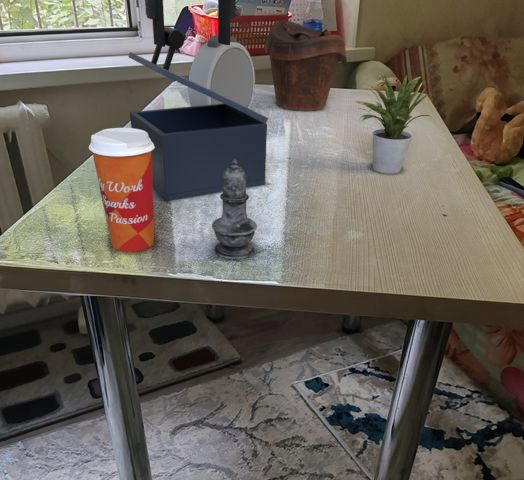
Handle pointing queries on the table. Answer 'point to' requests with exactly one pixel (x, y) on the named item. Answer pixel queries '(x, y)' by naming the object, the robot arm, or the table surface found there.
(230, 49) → the alarm clock
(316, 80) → the brown bucket
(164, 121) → the dark blue open box
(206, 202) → the table surface
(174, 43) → the lid
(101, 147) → the paper cup
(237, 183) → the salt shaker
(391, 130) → the house plant
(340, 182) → the table surface
